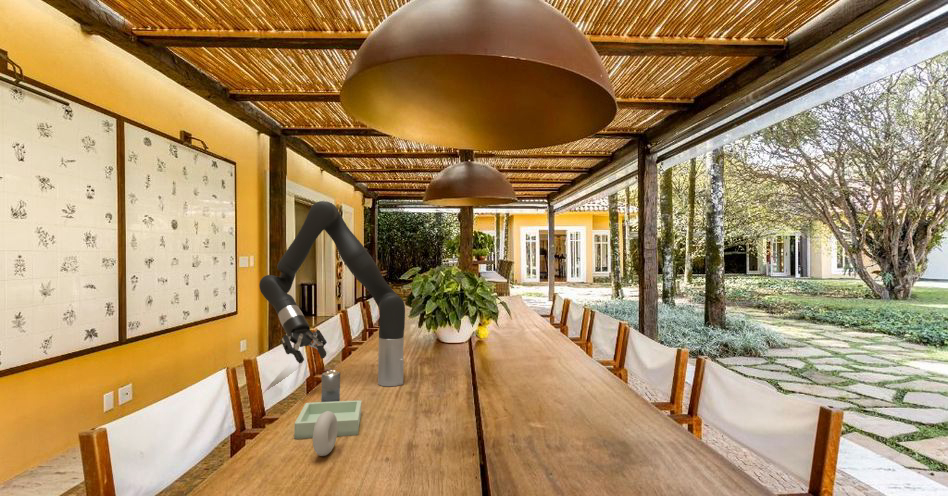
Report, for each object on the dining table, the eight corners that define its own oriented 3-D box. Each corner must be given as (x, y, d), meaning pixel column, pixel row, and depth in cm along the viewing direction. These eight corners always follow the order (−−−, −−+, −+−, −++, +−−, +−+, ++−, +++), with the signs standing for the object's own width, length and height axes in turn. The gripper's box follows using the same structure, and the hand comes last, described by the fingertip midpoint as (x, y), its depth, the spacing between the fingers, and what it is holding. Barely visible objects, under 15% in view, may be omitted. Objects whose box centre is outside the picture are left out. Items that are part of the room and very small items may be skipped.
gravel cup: (340, 401, 142) (341, 367, 142) (338, 407, 136) (339, 372, 137) (322, 402, 141) (323, 368, 141) (319, 408, 135) (320, 373, 135)
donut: (325, 444, 110) (326, 405, 110) (339, 445, 110) (340, 405, 110) (309, 463, 100) (310, 419, 100) (324, 464, 100) (325, 420, 100)
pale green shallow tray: (361, 413, 132) (361, 400, 132) (357, 435, 116) (358, 419, 116) (305, 416, 129) (305, 402, 129) (294, 439, 113) (294, 423, 113)
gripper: (279, 316, 143) (299, 356, 136) (316, 312, 155) (336, 348, 148) (269, 331, 146) (289, 370, 139) (306, 325, 158) (326, 362, 151)
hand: (313, 359), depth 144 cm, fingers open, 8 cm apart
